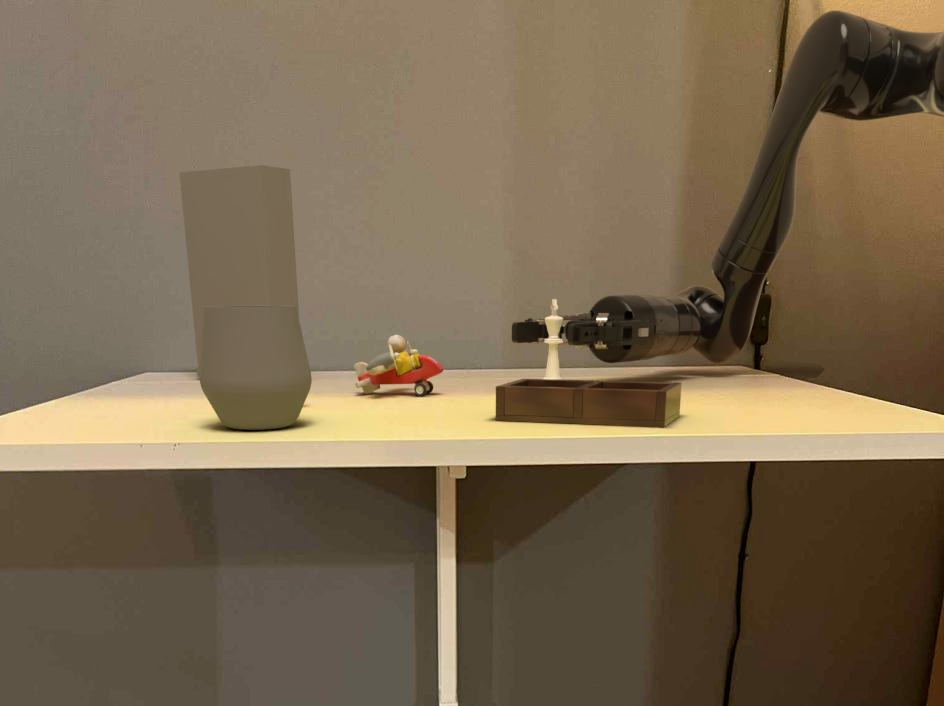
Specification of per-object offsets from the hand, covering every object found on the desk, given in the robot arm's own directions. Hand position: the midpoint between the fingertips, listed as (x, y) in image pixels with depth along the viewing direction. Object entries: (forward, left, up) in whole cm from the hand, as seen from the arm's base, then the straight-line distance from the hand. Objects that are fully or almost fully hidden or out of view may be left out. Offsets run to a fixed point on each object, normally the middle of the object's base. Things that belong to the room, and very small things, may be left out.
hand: (541, 333), depth 106 cm
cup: (+16, +32, -7) cm, 36 cm away
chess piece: (-1, -2, -7) cm, 7 cm away
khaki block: (+42, -8, -7) cm, 43 cm away
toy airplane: (+16, +4, -7) cm, 18 cm away
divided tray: (-10, +18, -7) cm, 21 cm away
